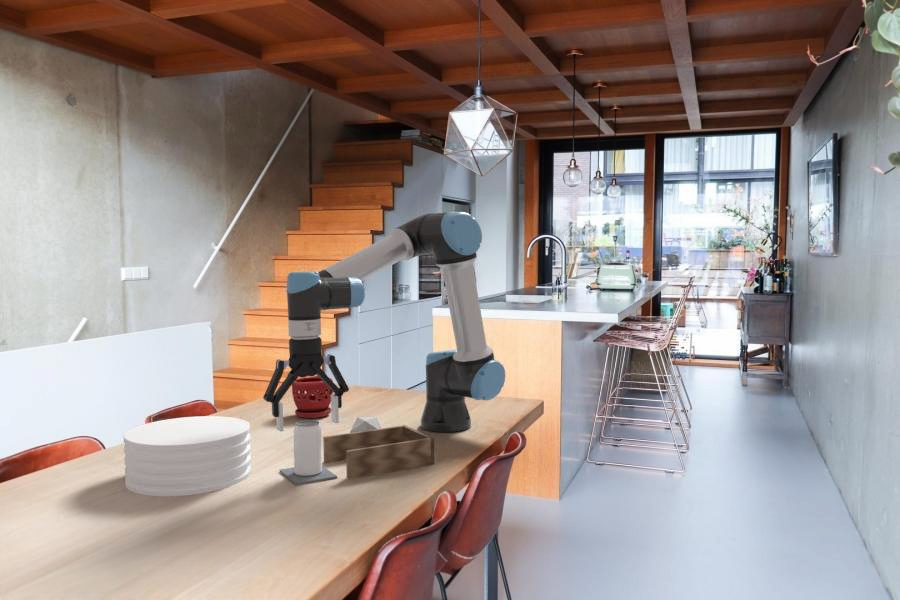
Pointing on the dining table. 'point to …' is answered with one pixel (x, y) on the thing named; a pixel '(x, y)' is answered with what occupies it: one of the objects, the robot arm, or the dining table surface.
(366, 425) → the die
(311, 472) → the can
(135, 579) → the dining table surface
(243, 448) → the plate stack
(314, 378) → the plant pot
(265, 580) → the dining table surface
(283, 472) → the slate mat
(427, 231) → the robot arm
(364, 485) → the dining table surface
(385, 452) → the walnut u-shaped enclosure
